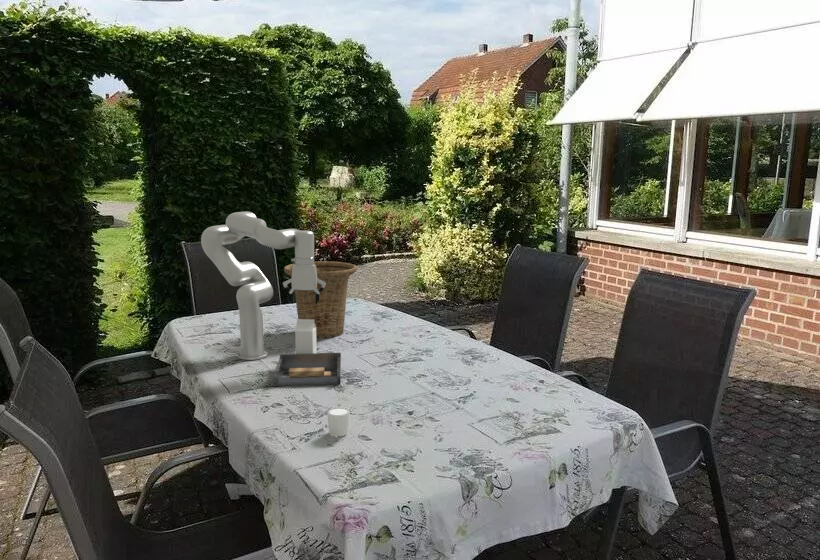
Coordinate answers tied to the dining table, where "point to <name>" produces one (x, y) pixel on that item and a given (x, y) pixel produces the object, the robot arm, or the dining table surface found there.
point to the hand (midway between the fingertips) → (304, 303)
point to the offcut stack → (308, 372)
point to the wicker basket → (325, 298)
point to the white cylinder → (338, 421)
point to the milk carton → (305, 336)
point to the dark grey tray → (308, 361)
